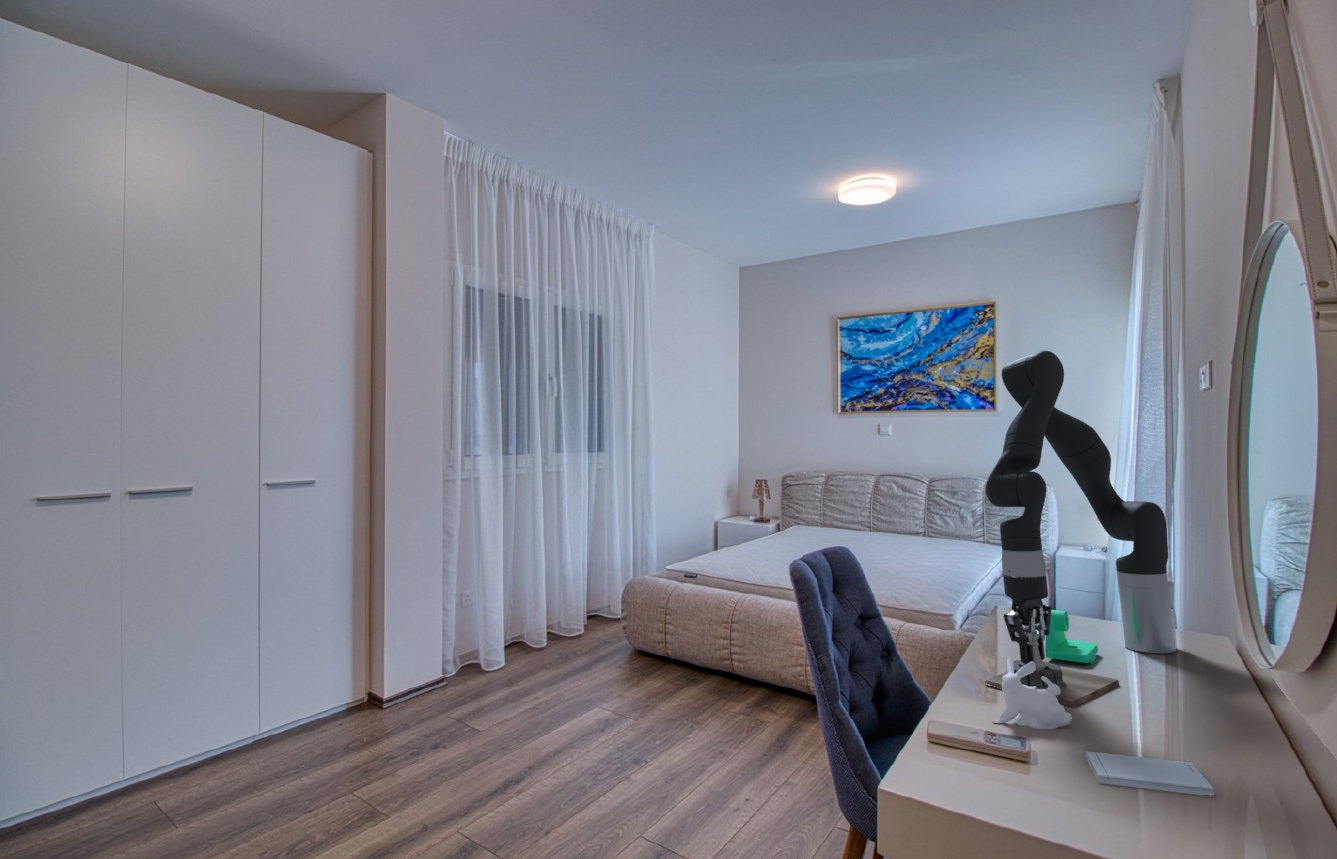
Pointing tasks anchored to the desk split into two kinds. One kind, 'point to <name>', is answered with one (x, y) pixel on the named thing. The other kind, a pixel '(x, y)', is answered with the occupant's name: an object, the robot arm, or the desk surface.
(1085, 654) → the camera mount
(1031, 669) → the rabbit figurine
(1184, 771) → the hard drive
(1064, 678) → the socket board
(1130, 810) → the desk surface
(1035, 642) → the rook chess piece
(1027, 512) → the robot arm
